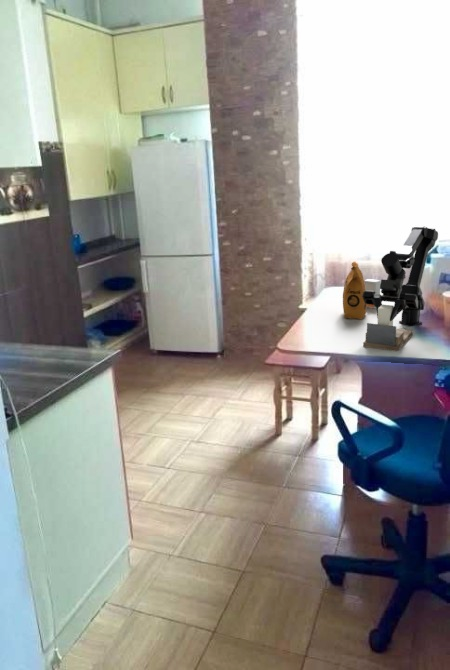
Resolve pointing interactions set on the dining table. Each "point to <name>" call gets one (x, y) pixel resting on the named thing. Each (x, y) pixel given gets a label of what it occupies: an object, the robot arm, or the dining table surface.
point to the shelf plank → (395, 348)
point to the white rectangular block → (385, 315)
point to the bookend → (381, 334)
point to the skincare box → (372, 288)
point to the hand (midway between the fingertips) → (384, 319)
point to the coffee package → (354, 294)
